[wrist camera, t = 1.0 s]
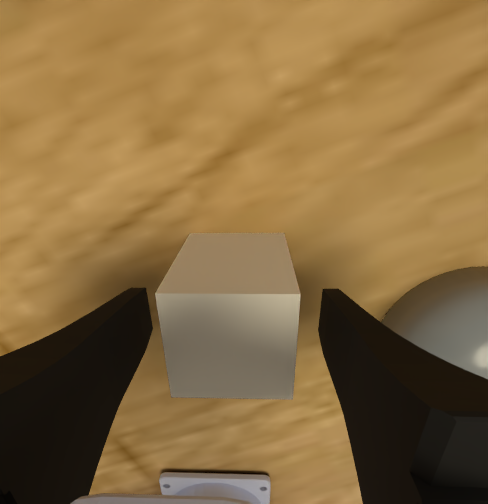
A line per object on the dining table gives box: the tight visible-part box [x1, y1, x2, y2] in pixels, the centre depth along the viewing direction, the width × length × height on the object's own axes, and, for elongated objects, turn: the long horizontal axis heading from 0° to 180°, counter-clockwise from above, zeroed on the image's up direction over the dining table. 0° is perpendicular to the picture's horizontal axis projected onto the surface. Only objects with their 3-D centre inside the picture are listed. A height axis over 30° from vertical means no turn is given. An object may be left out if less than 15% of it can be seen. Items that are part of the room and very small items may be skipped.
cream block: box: [155, 233, 301, 400], centre depth 13 cm, size 4×4×6 cm
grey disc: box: [381, 266, 488, 379], centre depth 15 cm, size 9×9×4 cm
